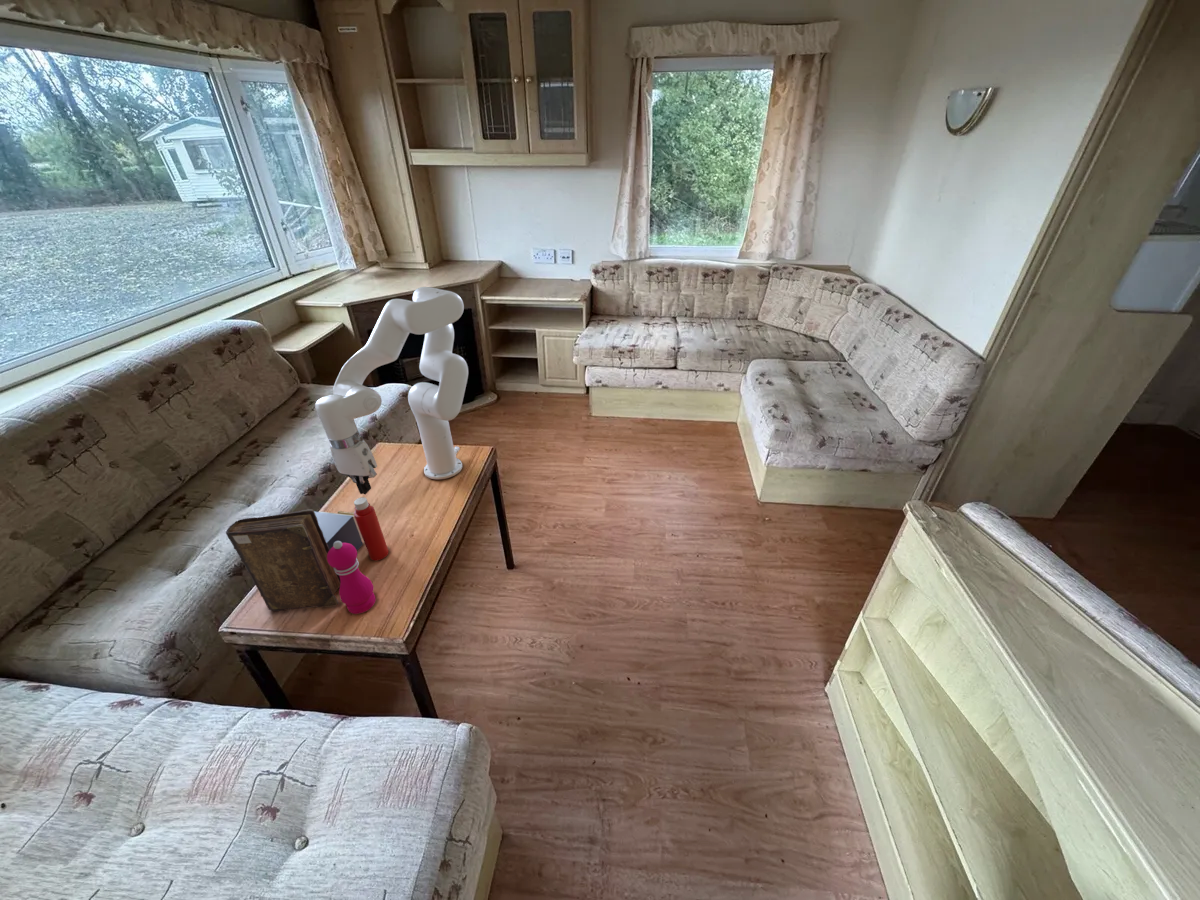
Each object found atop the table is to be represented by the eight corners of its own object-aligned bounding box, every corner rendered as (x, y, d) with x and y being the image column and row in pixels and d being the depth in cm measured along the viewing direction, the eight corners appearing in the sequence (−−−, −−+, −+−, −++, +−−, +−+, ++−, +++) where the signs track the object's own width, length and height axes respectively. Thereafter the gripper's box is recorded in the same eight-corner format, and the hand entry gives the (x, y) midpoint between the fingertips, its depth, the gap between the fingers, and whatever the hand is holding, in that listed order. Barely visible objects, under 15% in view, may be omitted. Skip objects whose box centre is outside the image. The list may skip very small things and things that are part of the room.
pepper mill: (366, 618, 112) (340, 555, 101) (338, 613, 113) (310, 551, 103) (384, 594, 118) (361, 533, 107) (357, 590, 119) (333, 529, 109)
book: (265, 612, 114) (219, 533, 100) (280, 589, 120) (239, 511, 106) (337, 608, 114) (300, 529, 101) (348, 585, 120) (315, 508, 107)
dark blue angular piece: (326, 539, 135) (314, 511, 130) (363, 544, 133) (352, 516, 128) (288, 577, 123) (273, 548, 118) (328, 583, 121) (315, 554, 116)
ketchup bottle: (376, 546, 132) (357, 494, 122) (392, 549, 131) (374, 496, 122) (365, 559, 128) (345, 505, 118) (382, 561, 127) (363, 507, 118)
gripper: (377, 433, 132) (395, 485, 142) (329, 429, 135) (351, 481, 145) (361, 448, 126) (381, 501, 136) (311, 444, 129) (335, 497, 139)
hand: (365, 491), depth 141 cm, fingers closed
